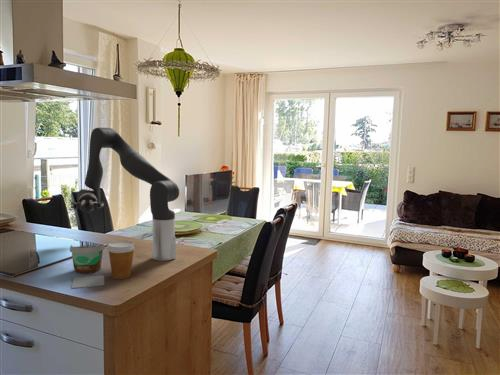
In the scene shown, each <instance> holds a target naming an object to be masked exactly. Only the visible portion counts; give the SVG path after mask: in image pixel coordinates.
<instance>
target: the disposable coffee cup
mask: <svg viewBox="0 0 500 375" xmlns="http://www.w3.org/2000/svg"><path fill="white" fill-rule="evenodd" d="M135 248H136V246H135V243H134V242H133V241H128V240H120V241H119V240H118V241H112V242H110V243H109V244H108V246H107V252H108V254H109V255H108V256H109V262H110V263H109V264H110V268H111V269H110V270H111V276H112V278H113V279H114V280H115V279H116V280H120V279H121V280H122V279H127V278H130V277H131V273H132V268H133V267H132V265H133V258H134V257H133V256H134V250H135Z"/></svg>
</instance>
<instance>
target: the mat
mask: <svg viewBox="0 0 500 375" xmlns="http://www.w3.org/2000/svg"><path fill="white" fill-rule="evenodd" d="M103 286H105V275H104V274H103V275H101V274H100V275H90V276H82V277H81V276H78V277H73V280H72V284H71V289H74V290H75V289H83V288H92V287H93V288H94V287H103Z"/></svg>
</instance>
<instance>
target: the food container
mask: <svg viewBox="0 0 500 375" xmlns="http://www.w3.org/2000/svg"><path fill="white" fill-rule="evenodd" d="M104 250H106V248H105V244H104V243H102V244H99V245H87V244H86V245H81V246H74V245H72V244H70V247H69V252H70V253H71V256H72V258H71V259H72V266H73V271H74V273H76V274H80V275H86V274H94V273H96V272H99V271H100V270H101V269H102V261H103V251H104Z"/></svg>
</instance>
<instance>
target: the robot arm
mask: <svg viewBox="0 0 500 375" xmlns="http://www.w3.org/2000/svg"><path fill="white" fill-rule="evenodd" d="M108 148H109V149H112V150H113V151H114V152H116V153H117V155H118V156H119V161H120V164H121V167H123V169H124V170H125V171H127V172H128V173H129V174H130V175H131V176H133V177H134V178H137V179H139V180H141V181H143V182H146V183H147V184H149V185H151V186H150V189H149V202H150V204H149V205H150V213H151V215H152V227H151V228H152V238H151V239H152V242H151V243H152V253H151V254H152V256H151V257H152V260H154V261H158V262H159V261H161V262H164V261H170V260H175V259H176V254H177V252H176V248H177V247H176V243H177V242H176V235H175V233H176V232H175V230H176V228H175V223H176V221H175V219H176V217H175V216H176V214H175V211H174V210H172V209H170V208H169V203H171V202H173V201H176V200H178V198H179V196H180V188H179V185H178V184H177V183H176V182H175V181H174V180H172V179H171V178H170V177H168V176H166V175H165V174H163V173H162V172H161V171H159V170H158V169H157V168H156V167H155V166H154V165H153V164H151V163H150V162H149V161H148V160H147V159H146V158H145V157H144V156H142V154H140V153H139V152H137V150H135V148H133V147H132V146H131V145H130V144H129V143H128V142H126V140H125V139H124V138H123V137H122V136H121V135H120V133H119V132H118V131H117V130H115V129H114V128H112V127H95V128H94V129H92V131H91V132H90V138H89V148H88V149H89V152H88V165H87V166H88V167H87V172H86V175H85V179H84V185H85V187H87V188H89V189H84V188H81V189H80V190H79V191H77V194H76V195H77V196H76V200H77V202H76V201H75V202H74V201H71V202H70V209H73V210H76V211H77V210H81V211H83V212H85V213H90V212H92V211H95V210H98V209H101V208H104V206H105V204H104V201H103V200H102V201H101V183H102V178H103V175H104V169H103V165H102V162H101V156H100V155H101V151H102V149H108Z"/></svg>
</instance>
